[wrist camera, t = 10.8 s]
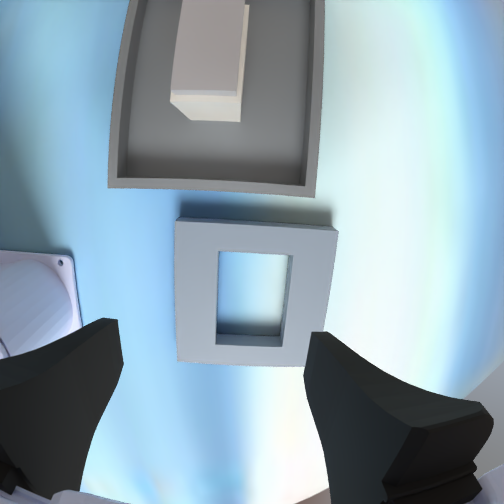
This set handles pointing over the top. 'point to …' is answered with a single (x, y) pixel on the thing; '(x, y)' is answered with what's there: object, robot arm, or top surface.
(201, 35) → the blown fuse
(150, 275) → the top surface
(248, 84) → the parts tray
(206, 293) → the grey flat square frame
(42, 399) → the robot arm
